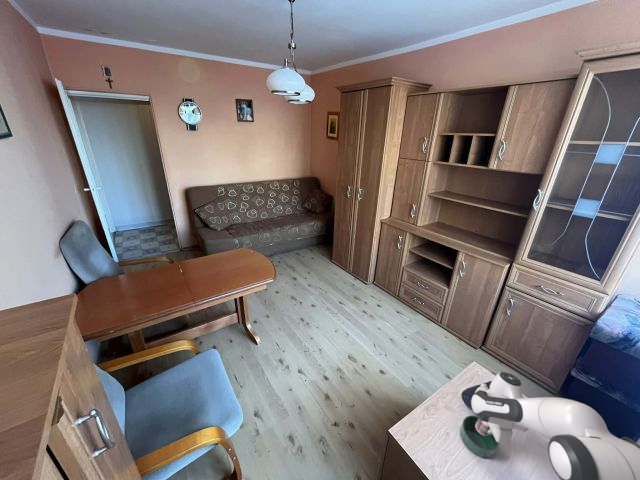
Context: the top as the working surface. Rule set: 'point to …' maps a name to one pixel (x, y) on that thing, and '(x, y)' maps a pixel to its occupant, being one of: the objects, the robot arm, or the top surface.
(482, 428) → the pill bottle
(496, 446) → the bowl
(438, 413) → the top surface
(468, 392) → the portable speaker
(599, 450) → the robot arm
